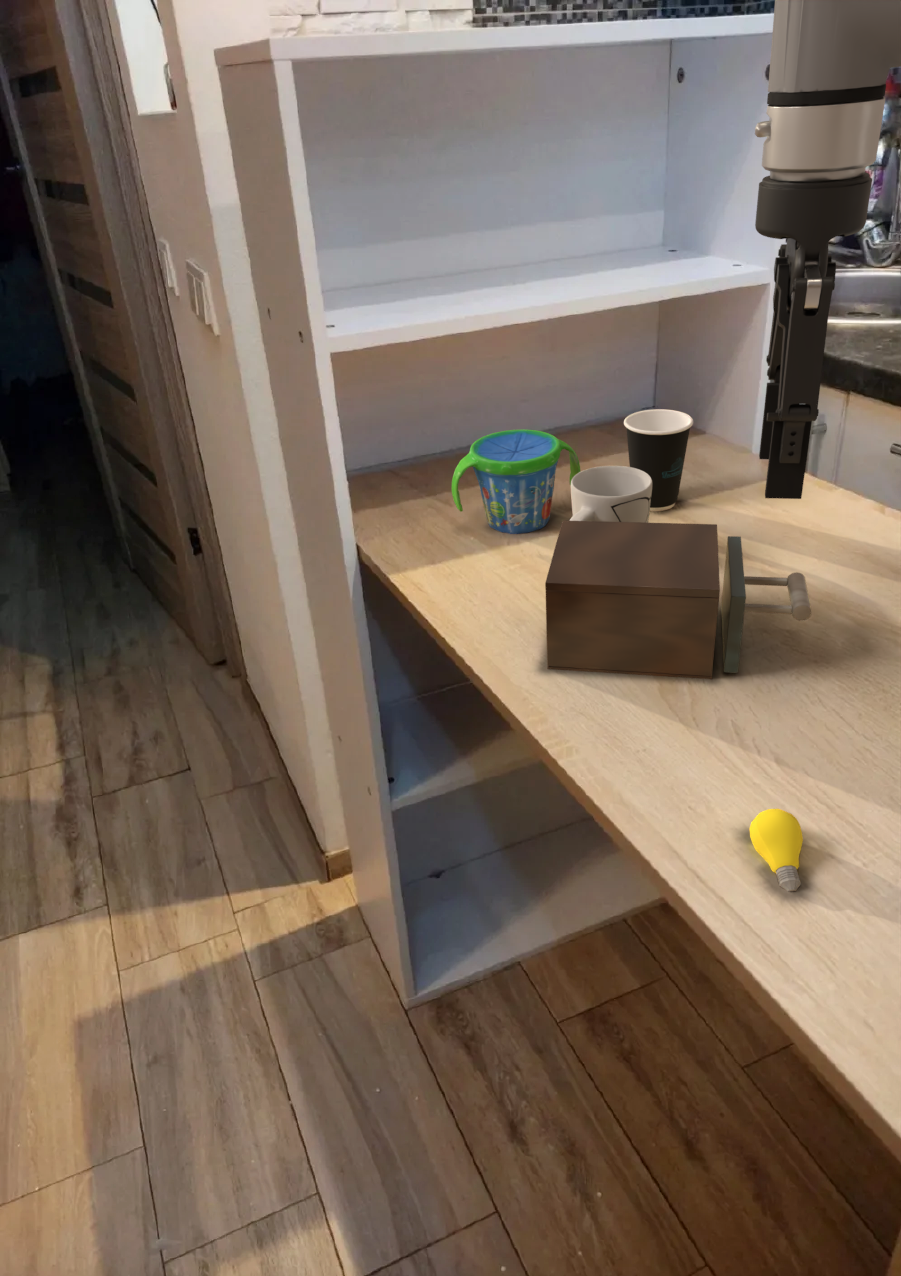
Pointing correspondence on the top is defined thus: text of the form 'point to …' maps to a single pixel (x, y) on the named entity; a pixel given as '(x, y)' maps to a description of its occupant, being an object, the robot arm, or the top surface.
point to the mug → (611, 494)
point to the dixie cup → (659, 451)
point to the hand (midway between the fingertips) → (779, 476)
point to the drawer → (736, 605)
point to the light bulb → (779, 844)
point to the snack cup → (515, 477)
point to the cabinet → (633, 598)
